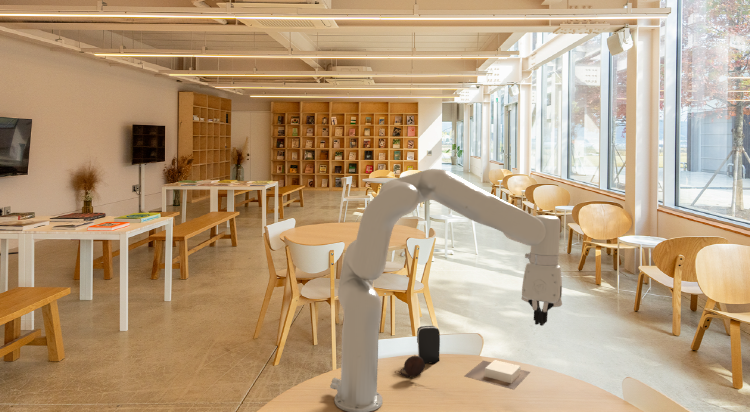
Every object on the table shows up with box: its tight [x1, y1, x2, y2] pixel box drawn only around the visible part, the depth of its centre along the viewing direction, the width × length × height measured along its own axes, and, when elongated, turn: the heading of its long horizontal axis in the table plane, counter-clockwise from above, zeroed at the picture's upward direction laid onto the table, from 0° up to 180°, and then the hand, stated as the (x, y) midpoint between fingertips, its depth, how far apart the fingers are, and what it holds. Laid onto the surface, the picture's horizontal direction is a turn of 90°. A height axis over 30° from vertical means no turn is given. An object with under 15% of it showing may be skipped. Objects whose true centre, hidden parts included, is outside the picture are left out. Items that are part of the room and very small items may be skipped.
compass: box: [394, 354, 426, 378], centre depth 162 cm, size 8×8×7 cm
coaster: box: [485, 359, 522, 383], centre depth 160 cm, size 8×8×2 cm
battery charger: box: [416, 325, 441, 365], centre depth 172 cm, size 7×4×11 cm, turn 98°
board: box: [464, 360, 531, 390], centre depth 161 cm, size 15×15×2 cm
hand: (540, 323), depth 153 cm, fingers closed
